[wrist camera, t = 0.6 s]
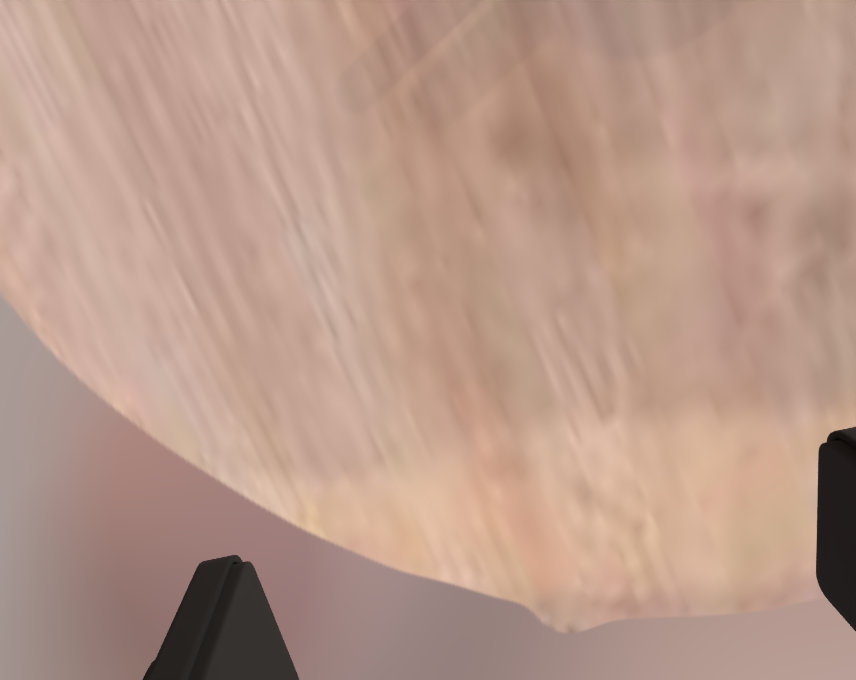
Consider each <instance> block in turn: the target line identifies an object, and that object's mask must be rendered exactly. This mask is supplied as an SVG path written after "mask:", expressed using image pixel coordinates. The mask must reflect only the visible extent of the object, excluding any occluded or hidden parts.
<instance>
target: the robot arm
mask: <svg viewBox="0 0 856 680" xmlns="http://www.w3.org/2000/svg"><path fill="white" fill-rule="evenodd" d="M816 576H817V580H818V583H819V586H820V588H821V590H822V592H823V594H824V595H825V597H826V598H827V599H828V600H829V602H830V603H831V604H832V605H833V606H834V607H835V608H836V609H837V611H838V612H839V613H840V614H841V615H842V616H843V617H844V618H845V620H846V621H847V622H848V623H849V624H850V626H852V628H853V629H854V630H855V631H856V427H853V428H848V429H843V430H838V431H834V432H832V433H830V434H829V436H828V438H827V443H823V444H821V446H820V448H819V459H818V507H817V556H816ZM143 680H299V678H298V675H297V672H296V670H295V667H294V665H293V662H292V660H291V657H290V655H289V652H288V650H287V647H286V645H285V643H284V640H283V638H282V635H281V633H280V630H279V628H278V625H277V623H276V620H275V618H274V615H273V613H272V611H271V608H270V605H269V603H268V600H267V598H266V596H265V593H264V591H263V588H262V586H261V583H260V581H259V578H258V576H257V573H256V571H255V568H254V566H253V565H252V563H251V562H242V560H241V558H240V557H239V556H238V555H232V556H227V557H222V558H217V559H212V560H208V561H203V562H201V563H200V564H199V565H198V567H197V569H196V571H195V573H194V575H193V578H192V580H191V582H190V584H189V586H188V589H187V591H186V593H185V595H184V597H183V600H182V602H181V604H180V606H179V608H178V611H177V613H176V615H175V617H174V620H173V622H172V624H171V626H170V628H169V631H168V633H167V635H166V637H165V639H164V642H163V644H162V646H161V649H160V650H159V653H158V655H157V657H156V659H155V660H154V661H153V662H152V663H151V665H150V667H149V668H148V670H147V672H146V674H145V676H144V678H143Z"/></svg>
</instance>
